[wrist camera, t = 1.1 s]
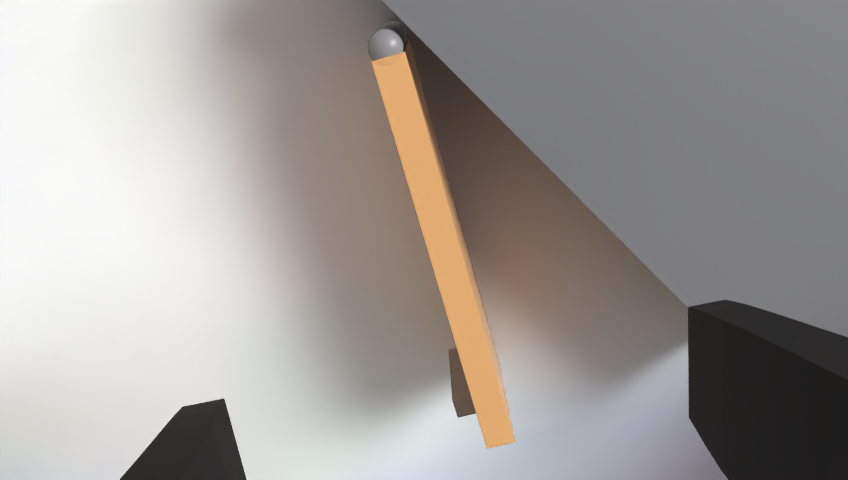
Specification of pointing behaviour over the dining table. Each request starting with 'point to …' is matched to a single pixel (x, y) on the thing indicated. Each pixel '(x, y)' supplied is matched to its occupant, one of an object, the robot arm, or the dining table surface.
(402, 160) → the door
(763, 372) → the robot arm
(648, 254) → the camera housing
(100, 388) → the dining table surface
